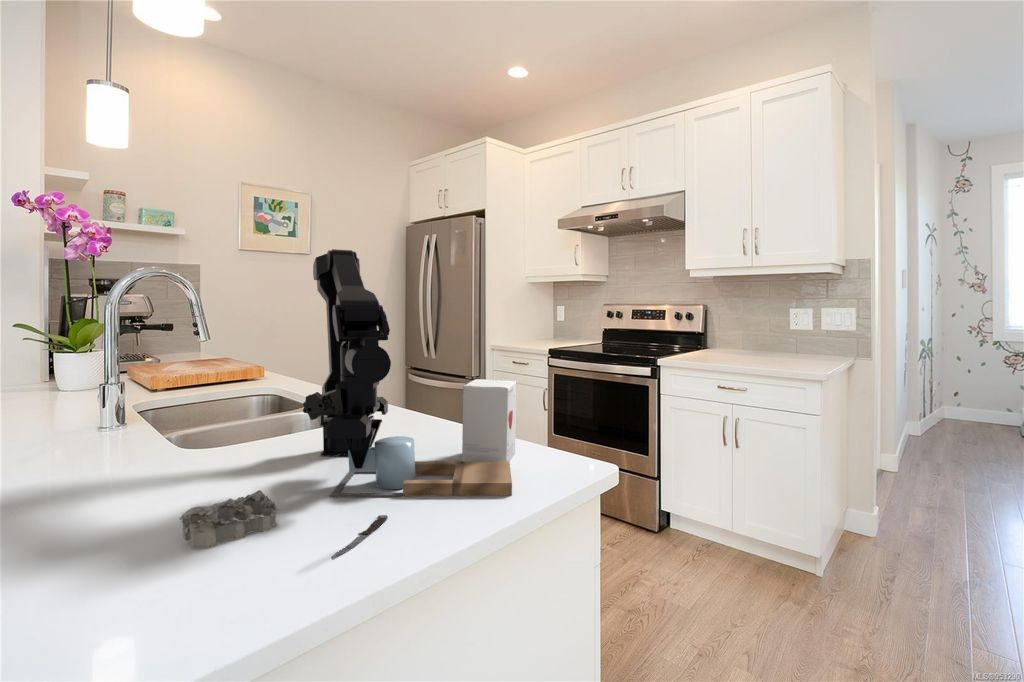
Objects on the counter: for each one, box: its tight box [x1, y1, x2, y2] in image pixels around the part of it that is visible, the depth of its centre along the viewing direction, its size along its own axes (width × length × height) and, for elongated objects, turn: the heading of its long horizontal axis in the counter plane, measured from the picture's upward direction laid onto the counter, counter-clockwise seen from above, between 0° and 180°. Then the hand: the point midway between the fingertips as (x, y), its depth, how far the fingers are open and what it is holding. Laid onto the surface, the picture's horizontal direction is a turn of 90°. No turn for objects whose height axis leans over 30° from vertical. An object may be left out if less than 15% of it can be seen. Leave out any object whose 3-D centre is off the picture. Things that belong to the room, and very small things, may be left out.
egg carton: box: [179, 489, 281, 550], centre depth 69 cm, size 11×8×4 cm
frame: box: [329, 470, 403, 498], centre depth 87 cm, size 11×12×1 cm
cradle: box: [402, 460, 513, 497], centre depth 87 cm, size 17×11×2 cm, turn 93°
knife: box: [330, 514, 388, 561], centre depth 66 cm, size 17×1×3 cm
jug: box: [347, 435, 417, 490], centre depth 87 cm, size 11×6×7 cm, turn 93°
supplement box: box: [461, 378, 517, 462], centre depth 101 cm, size 9×9×15 cm
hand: (360, 466), depth 86 cm, fingers closed on jug
